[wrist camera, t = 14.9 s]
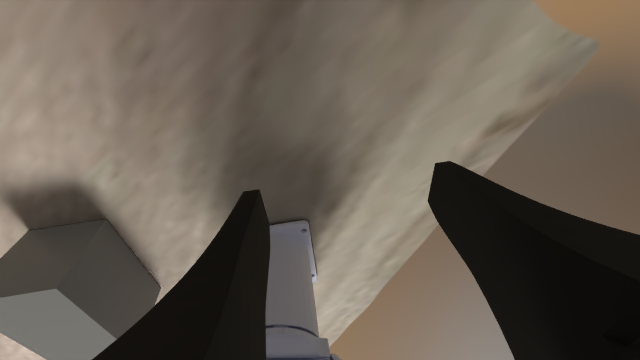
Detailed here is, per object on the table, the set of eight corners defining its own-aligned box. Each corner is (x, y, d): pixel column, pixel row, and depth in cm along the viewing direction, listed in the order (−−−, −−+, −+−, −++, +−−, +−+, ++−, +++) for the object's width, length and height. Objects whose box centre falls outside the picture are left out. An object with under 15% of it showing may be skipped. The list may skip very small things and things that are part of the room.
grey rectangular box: (160, 288, 28) (135, 354, 23) (100, 298, 27) (61, 368, 22) (106, 218, 22) (56, 288, 17) (28, 230, 21) (-47, 305, 16)
